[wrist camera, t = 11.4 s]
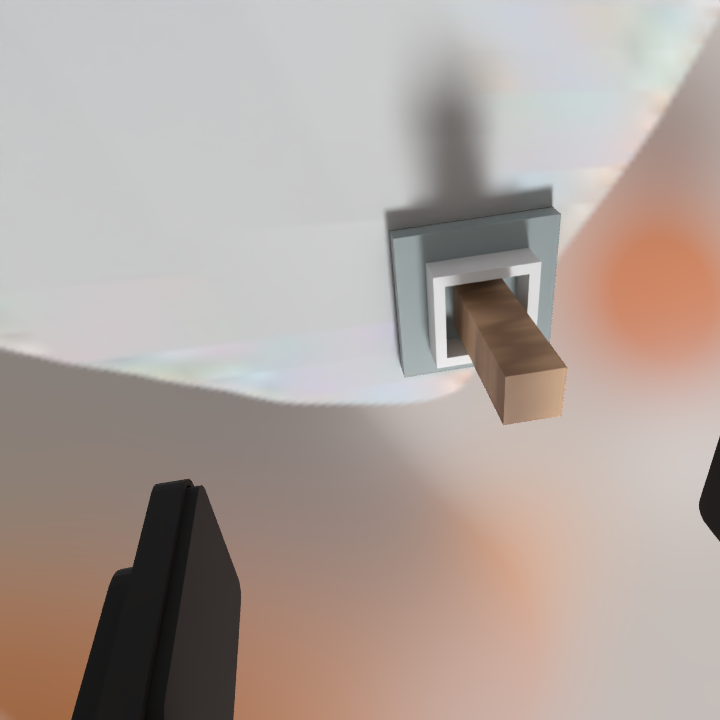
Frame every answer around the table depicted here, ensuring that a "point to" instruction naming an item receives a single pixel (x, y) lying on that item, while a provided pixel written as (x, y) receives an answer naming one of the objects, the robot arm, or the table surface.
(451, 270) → the bracket
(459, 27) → the table surface
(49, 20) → the table surface
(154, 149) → the table surface
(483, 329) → the rail post
